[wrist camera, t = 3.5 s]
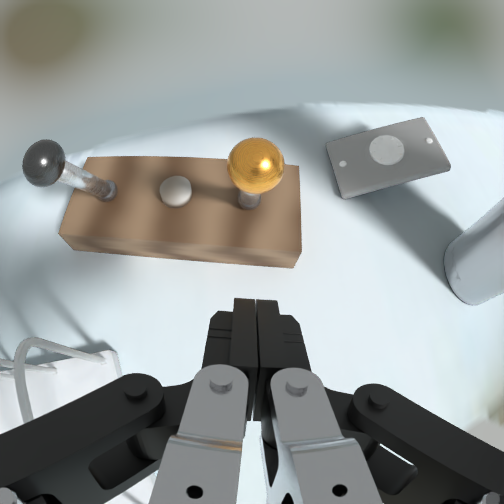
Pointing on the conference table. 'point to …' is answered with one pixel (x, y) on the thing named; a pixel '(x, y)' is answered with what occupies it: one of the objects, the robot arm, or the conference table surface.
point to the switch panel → (184, 213)
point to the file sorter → (59, 392)
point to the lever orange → (254, 170)
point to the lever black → (62, 171)
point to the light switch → (386, 157)
